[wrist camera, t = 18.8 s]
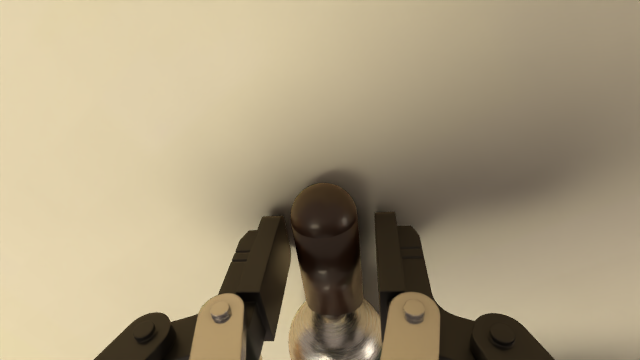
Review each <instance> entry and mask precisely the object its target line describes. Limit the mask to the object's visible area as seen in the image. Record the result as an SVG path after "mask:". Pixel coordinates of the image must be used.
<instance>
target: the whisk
mask: <svg viewBox="0 0 640 360" xmlns="http://www.w3.org/2000/svg"><path fill="white" fill-rule="evenodd" d="M290 217H291V225H292V230H293V236H294V241H295V246H296V251H297V256H298V261H299V266H300V271H301V276H302V281H303V286H304V291H305V296H306V302H305V303H303V305H302V306H301V307H300V308H299V310H298V311H297V313H296V315H295V316H294V318H293V320H292V324H291V327H290V331H289V340H288V343H289V353H290V358H291V360H380V358H381V352H382V346H383V343H382V339H381V324H380V317H379V315H378V313H377V312H376V310H375V309H374V307H373V306H372V305H371V304H370V303H369V302H368V301H366V300H365V299H364V298H363V285H362V271H361V257H360V244H359V230H358V216H357V209H356V205H355V203H354V201H353V199H352V197H351V196H350V195H349V194H348V193H347V192H346V191H345V190H344V189H342V188H341V187H339V186H337V185H334V184H330V183H317V184H313V185H311V186H309V187H307V188H306V189H304V190H303V191H301V192H300V194H299V195H298V196H297V197H296V199H295V201H294V203H293V205H292V208H291V215H290Z"/></svg>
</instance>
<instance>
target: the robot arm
mask: <svg viewBox="0 0 640 360" xmlns="http://www.w3.org/2000/svg"><path fill="white" fill-rule="evenodd" d="M374 215H375V239H376V260H377V276H378V292H379V308H380V324H381V339H382V343H383V346H382V352H381V358H380V360H554V358H553V357H552V356H551V355H550V354H549V353H548V352H547V351H546V350H545V349H544V348H543V347H542V346H541V345H540V343H539V342H538V341H537V340H536V339H535V338H534V337H533V336H532V335H531V334H530V333H529V332H528V331H527V329H526V328H525V327H524V326H523V325H522V324H520V323H519V322H518V321H516V320H514V319H513V318H511V317H508V316H506V315H502V314H497V313H490V314H485V315H482V316H480V317H479V318H477V319H476V321H472V320H468V319H465V318H461V317H458V316H455V315H452V314H450V313H448V312H447V311H445V310H444V309H442V308H441V307H440V306H439V305H438V304H437V303H436V301H435V300H434V298H433V296H432V292H431V287H430V283H429V278H428V274H427V269H426V264H425V260H424V255H423V251H422V246H421V241H420V237H419V235H418V233H417V232H416V231H415V230H414V229H413V227H412V226H397V222H396V216H395V212H374ZM290 261H291V248H290V243H289V238H288V233H287V228H286V224H285V219H284V217H283V216H263V217H262V219H261V221H260V224H259V227H258V230H250V231H248V232H247V233H246V234H245V235H244V236H243V238H242V239H241V240H240V241H239V244H238V246H237V249H236V253H235V254H234V256H233V259H232V262H231V264H230V266H229V269H228V271H227V274H226V276H225V279H224V281H223V284H222V286H221V289H220V291H219V294H218V295H217V296H215V297H213V298H211V299H210V300H208V301H207V302H206V303H205V304H204V305H203V306H202V308H201V309H200V311H199V313H198V314H196V315H194V316H191V317H187V318H184V319H180V320H177V321H173V322H170V320H169V318H168V317H167V316H166V315H165V314H163V313H149V314H146V315H144V316H141V317H140V318H138V319H136V320H135V321H134V322H132V323H131V324H130V325H129V326H128V327H127V328H126V329H125V330H124V331H123V332H122V333H121V334H120V335H119V336H118V337H117V338H116V339H115V340H114V341H113V342H112V343H110V344H109V345H108V346H107V347H106V348H105V349H104V350H103V351H102V352H101V353H100V354H99V355H98V356H97V357H96V358H95V359H94V360H262V356H261V350H262V346H263V342H264V341H274V338H275V333H276V329H277V324H278V319H279V314H280V310H281V305H282V300H283V295H284V291H285V286H286V281H287V276H288V272H289V267H290Z"/></svg>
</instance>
